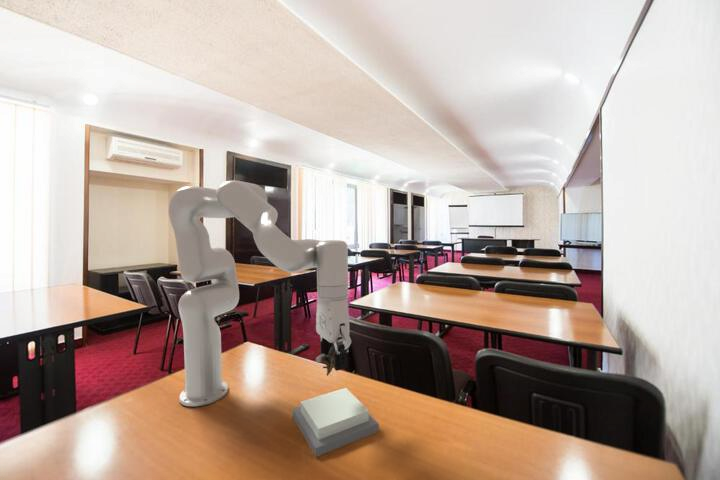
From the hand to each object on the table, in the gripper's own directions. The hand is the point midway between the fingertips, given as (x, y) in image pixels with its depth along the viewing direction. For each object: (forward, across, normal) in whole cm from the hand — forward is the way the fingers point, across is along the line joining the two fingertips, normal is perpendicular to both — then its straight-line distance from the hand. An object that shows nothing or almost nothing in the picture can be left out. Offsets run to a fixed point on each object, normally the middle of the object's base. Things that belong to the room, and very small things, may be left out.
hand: (333, 361), depth 74 cm
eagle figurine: (+3, -2, +1) cm, 3 cm away
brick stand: (+16, 0, 0) cm, 16 cm away
